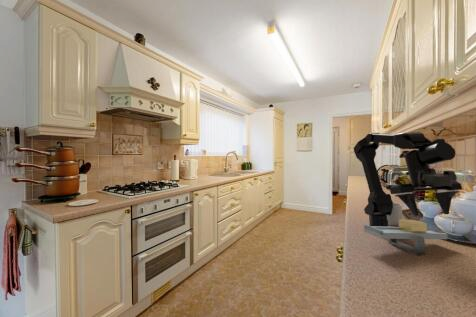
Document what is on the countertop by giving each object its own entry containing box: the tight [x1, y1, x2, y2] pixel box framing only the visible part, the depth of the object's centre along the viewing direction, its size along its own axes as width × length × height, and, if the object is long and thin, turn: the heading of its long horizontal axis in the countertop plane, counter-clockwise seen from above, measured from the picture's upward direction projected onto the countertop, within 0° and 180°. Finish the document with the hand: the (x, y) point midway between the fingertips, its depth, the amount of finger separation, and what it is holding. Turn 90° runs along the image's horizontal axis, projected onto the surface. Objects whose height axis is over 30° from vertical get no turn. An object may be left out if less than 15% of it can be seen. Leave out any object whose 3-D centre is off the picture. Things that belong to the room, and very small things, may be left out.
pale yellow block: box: [398, 218, 428, 233], centre depth 70 cm, size 4×6×4 cm
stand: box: [388, 236, 426, 257], centre depth 70 cm, size 11×2×6 cm, turn 10°
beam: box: [363, 224, 448, 241], centre depth 70 cm, size 8×26×3 cm, turn 100°
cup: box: [386, 202, 403, 227], centre depth 97 cm, size 7×10×9 cm
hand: (431, 214), depth 66 cm, fingers open, 9 cm apart
